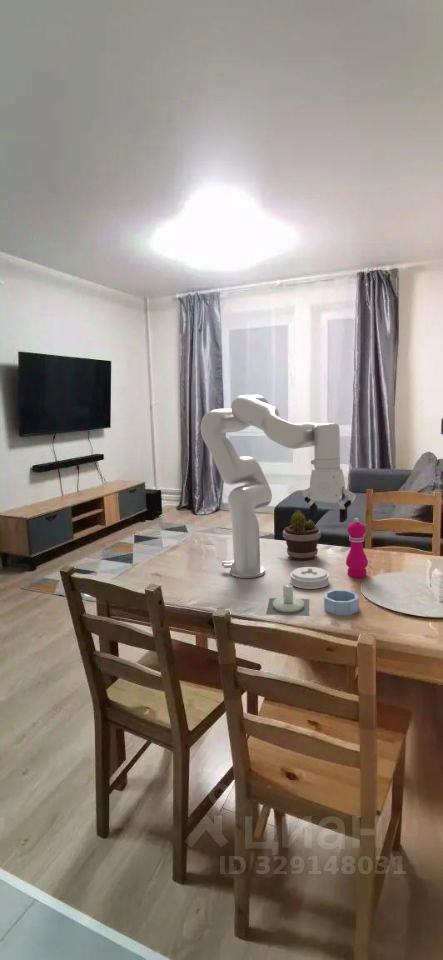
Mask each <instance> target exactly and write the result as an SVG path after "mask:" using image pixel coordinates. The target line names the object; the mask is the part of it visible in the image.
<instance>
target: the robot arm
mask: <svg viewBox="0 0 443 960" xmlns="http://www.w3.org/2000/svg"><path fill="white" fill-rule="evenodd" d="M279 412H280V411H279V410H278V408H277V407H276V406H274V405H273V406H272V405H270V404H269V402H268V400H267V399H266V398H265V397H264V396H263V395H260V394H244V395H239V396H237V397H235V398H234V400H233V401H232V402H231V405H230V408H217V409H212V410H210V411H207V412H206V413H205V414H204V415H203V417H202V419H201V422H200V433H201V437H202V440H203V442H204V444H205V445H206V448H207V449H208V451H209V452H210V454H211V456H212V460H213V461H214V465H216V466H215V467H216V468H217V471H218V473H219V475H220V477H221V479H222V480H223V482H224V484H226V485H229V486H233V485H240V484H244V485H240V486H237V487H234V488H233V489H232V490H231V491H230V492H229V494H228V496H227V502H228V503H227V505H228V508H229V513H230V517H231V527H232V528H231V529H232V551H233V554H232V555H233V559H232V560H230V561H228V560H223V561H221V565H222V566H221V567H223V568H224V569H229V574H230V573H231V574H232V575H233V577H234V576H236V577H235V578H237V577H239V578H238V579H254V578H258V577H262V576H264V574H265V573H266V569H265V567H264V566H262V565H261V545H260V542H261V541H260V523H259V520H258V517H257V515H256V513H255V511H257V510H262V509H264V508H266V507H268V506H269V505H270V504H271V503H272V499H273V494H272V493H273V492H272V489H271V487H270V484H269V482H268V480H267V478H266V476H265V474H264V471H263V468H261V465H260V464H259V462H258V461H257V460H256V459H255V458H253V457H252V456H248V455H245V456H244V455H243V456H239V455H238V453H237V451H236V449H235V446H234V445H233V444H234V443H232V441H231V440H230V439H229V438H227V436H226V435H225V433H236V432H240V431H243V430H245V429H247V428H249V427H251V426H253V427H255V428H257V429H258V430H261V431H262V432H264V435H266V437H267V438H268V439H269V440H271V441H272V442H274V443H276V444H279V445H281V446H282V447H285V448H288V449H291V450H293V449H294V450H296V449H301V448H302V449H303V448H309V447H310V448H311V447H313V449H314V455H313V457H314V459H311V461H310V464H311V465H313V467H314V468H312V469H311V472H310V473H311V474H310V480H309V487H308V488H306V489H303V490H302V491H301V495H302V496H303V498H304V502H306V503H307V506H308V507H309V516H310V519H311V520H314V519H317V518H318V505H317V503H328V504H338V505H339V507H340V509H339V522H340V523H344V522H346V521H347V519H348V509H349V507H350V506H351V505H352V504H353V503H354V501H355V499H356V497H357V495H356V493H354V492H352V491H350V490H348V488H346V484H345V483H346V482H345V481H346V480H345V476H344V475H345V474H344V472H343V468H341V450H340V449H341V444H340V443H341V441H340V440H341V437H340V436H341V434H340V431H341V430H340V426H339V424H338V423H336V422H321V423H316V422H299V423H293V422H292V423H291V422H290V421H287V420H285V419H282V418H280V413H279ZM346 497H348V500H345V499H346ZM231 574H230V575H231ZM232 575H231V576H232Z"/></svg>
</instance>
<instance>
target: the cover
mask: <svg viewBox="0 0 443 960" xmlns="http://www.w3.org/2000/svg"><path fill="white" fill-rule="evenodd" d="M282 592H283V593H282V594H283V595H282V596H280V597H276V598H277V599H275V600H274V601H273V608H274V609H275V610H277V611H280V612H285V613H292V612H298V611H301V610H302V609H303V608H304V601H303V600H301V599H302V598H299V597H295V596H294V586H293V585H292V584H291V583H290V584H283V586H282Z"/></svg>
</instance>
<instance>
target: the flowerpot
mask: <svg viewBox="0 0 443 960" xmlns="http://www.w3.org/2000/svg"><path fill="white" fill-rule="evenodd" d="M289 518H290V525H288V526H286V527H285V528H284V529H283V531H282V537H283V539H285V543H286V545H287V548H286V553H287V555H288V556H289V558H290V559H292V560H296V561H310V560H313V559H315V558H316V556H317V554H318V551H319V550H318V548H317V547H318V543H319V539H320V538H321V537H322V531H321V530H320V529H319V527H318V526H317V525H316V523H315V524H314V522H315V521H314V520H313V521H312V519H311V518H310V519H308V521H307V520H306V516H305V513H303V512H302V510H295V511H294V513H293V515H291V517H289Z"/></svg>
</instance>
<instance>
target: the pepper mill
mask: <svg viewBox="0 0 443 960" xmlns="http://www.w3.org/2000/svg"><path fill="white" fill-rule="evenodd" d="M366 531H367V528H366V526H365V525H364V523H362V522H360V519H359V518H358V517H354V518H353V522H351V523H349V525H348V526H347V533H348V535H349V538H348V541H349V542H350V548H349V552H348V554H347V556H346V559H345V564H346V566H347V567H348V568H347V575H348V576H349V577H350V578H364V577H367V569H366V568H367V567H368V565H369V561H368V557H367V555H366V553H365V551H364V542H365V534H366Z"/></svg>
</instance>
